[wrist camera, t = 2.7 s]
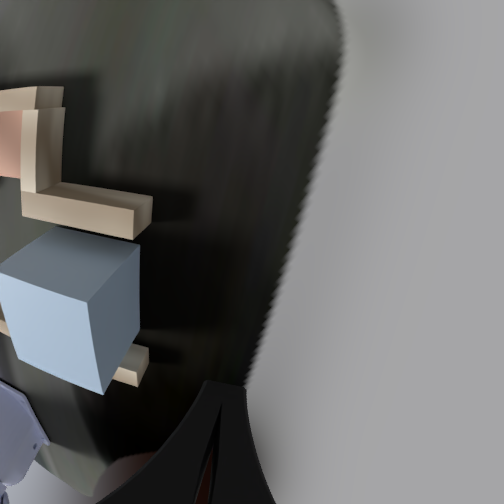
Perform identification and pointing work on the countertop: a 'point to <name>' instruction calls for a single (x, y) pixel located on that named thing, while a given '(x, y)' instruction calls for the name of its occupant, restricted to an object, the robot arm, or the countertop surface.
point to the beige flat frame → (64, 186)
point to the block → (73, 304)
